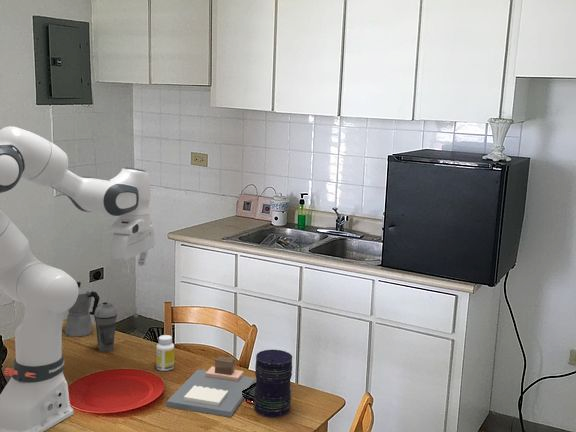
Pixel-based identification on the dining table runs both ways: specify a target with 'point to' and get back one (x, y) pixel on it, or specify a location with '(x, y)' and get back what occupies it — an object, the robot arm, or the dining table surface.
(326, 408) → the dining table surface
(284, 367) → the storage jar
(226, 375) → the brown and pink block
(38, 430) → the robot arm
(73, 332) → the coffeepot
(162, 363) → the supplement bottle
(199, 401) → the board
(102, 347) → the beverage cup
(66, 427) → the dining table surface
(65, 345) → the dining table surface
